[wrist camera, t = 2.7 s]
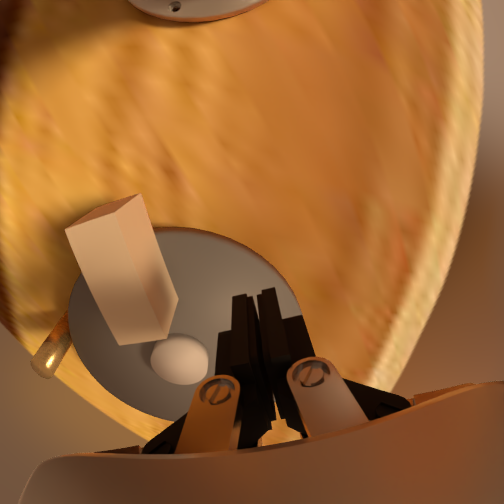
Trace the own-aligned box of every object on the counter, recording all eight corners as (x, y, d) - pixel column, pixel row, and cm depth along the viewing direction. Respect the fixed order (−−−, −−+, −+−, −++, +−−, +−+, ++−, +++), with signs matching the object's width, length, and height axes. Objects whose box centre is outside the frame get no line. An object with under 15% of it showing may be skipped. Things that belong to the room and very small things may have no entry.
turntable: (84, 172, 17) (36, 191, 12) (352, 245, 19) (386, 285, 14) (81, 381, 24) (62, 423, 19) (260, 424, 27) (264, 470, 21)
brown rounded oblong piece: (65, 246, 21) (17, 290, 14) (249, 297, 23) (253, 361, 16) (67, 324, 24) (33, 375, 17) (223, 369, 26) (221, 432, 19)
